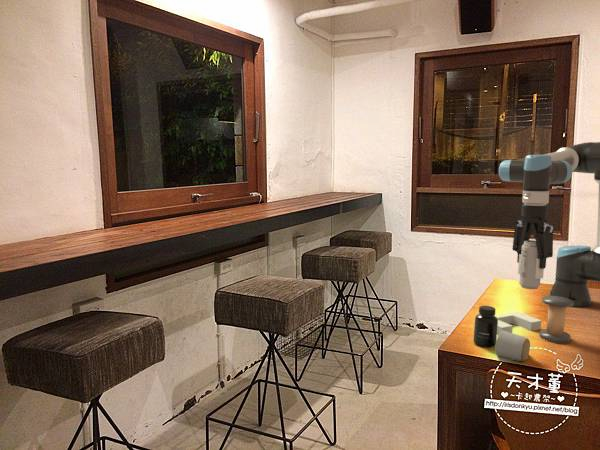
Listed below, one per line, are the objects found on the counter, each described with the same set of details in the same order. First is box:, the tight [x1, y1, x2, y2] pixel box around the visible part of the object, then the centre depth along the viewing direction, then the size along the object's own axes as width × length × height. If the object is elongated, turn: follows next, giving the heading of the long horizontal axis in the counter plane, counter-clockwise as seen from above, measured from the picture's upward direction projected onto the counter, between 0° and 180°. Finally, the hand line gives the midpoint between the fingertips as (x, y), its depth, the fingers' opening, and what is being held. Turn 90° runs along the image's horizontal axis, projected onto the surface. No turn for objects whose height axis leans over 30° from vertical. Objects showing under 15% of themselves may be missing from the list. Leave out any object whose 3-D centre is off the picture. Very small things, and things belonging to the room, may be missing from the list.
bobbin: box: [539, 295, 574, 344], centre depth 162 cm, size 9×9×13 cm
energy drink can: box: [519, 239, 541, 290], centre depth 158 cm, size 6×6×15 cm
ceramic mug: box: [494, 330, 531, 362], centre depth 147 cm, size 11×8×8 cm
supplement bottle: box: [473, 305, 498, 348], centre depth 157 cm, size 7×7×12 cm
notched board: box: [494, 311, 542, 336], centre depth 172 cm, size 18×10×3 cm, turn 113°
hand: (530, 275), depth 159 cm, fingers closed on energy drink can, 6 cm apart
